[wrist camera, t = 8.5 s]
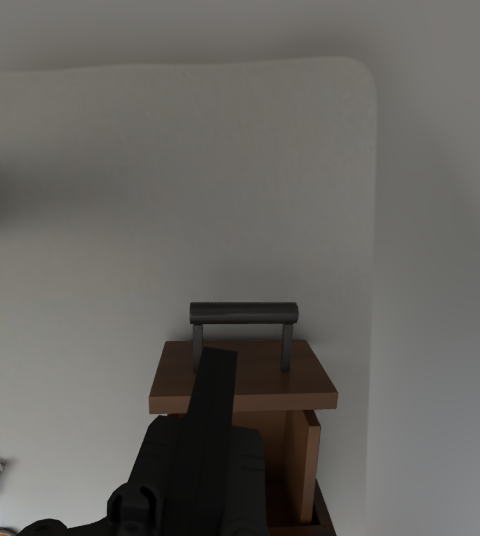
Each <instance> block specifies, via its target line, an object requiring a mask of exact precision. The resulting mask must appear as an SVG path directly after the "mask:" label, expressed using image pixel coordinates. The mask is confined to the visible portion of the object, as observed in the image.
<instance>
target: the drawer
mask: <svg viewBox="0 0 480 536" xmlns="http://www.w3.org/2000/svg"><path fill="white" fill-rule="evenodd" d="M298 316H299V312H298V306H297V303H295V302H191V303H190V324H193V341H166V342H165V345H164V348H163V351H162V355H161V358H160V361H159V365H158V368H157V372H156V375H155V378H154V382H153V385H152V388H151V392H150V395H149V413H150V414H167V416H168V417H174V418H181V419H185V417H186V413H187V410H188V406H189V402H190V398H191V394H192V390H193V386H194V382H195V378H196V374H197V370H198V366H199V363H200V359H201V355H202V351H203V347H204V346H206V347H212V348H218V349H225V350H231V351H237V352H238V357H237V369H236V380H235V392H234V404H233V415H232V426H238V427H244V428H251V429H257V430H258V431H259V433H260V435H261V437H262V440H263V442H264V461H265V471H264V472H265V499H266V521H267V527H268V528H274V527H291V526H308V525H311V520H312V510H313V500H314V490H315V480H316V470H317V460H318V450H319V440H320V430H321V425H320V423H319V421H318V419H317V417H316V414H315V412H314V410H317V409H336V408H337V399H338V392H337V390H336V388H335V387H334V385H333V383H332V382H331V380H330V378H329V377H328V375H327V374H326V372H325V370H324V369H323V367H322V365H321V364H320V362H319V360H318V359H317V357H316V356H315V354H314V352H313V351H312V349H311V347H310V346H309V344H308V342H307V341H306V340H292V335H293V324H295V323H297V321H298ZM203 324H283V330H282V340H268V341H203Z"/></svg>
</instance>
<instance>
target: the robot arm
mask: <svg viewBox="0 0 480 536" xmlns="http://www.w3.org/2000/svg"><path fill="white" fill-rule="evenodd" d="M237 357H238V352H237V351H231V350H225V349H218V348H212V347H206V346H204V347H203V351H202V355H201V359H200V363H199V366H198V370H197V374H196V378H195V382H194V386H193V390H192V394H191V398H190V402H189V406H188V410H187V413H186V417H185V419H181V418H174V417H168V416H162V415H159V416H158V417H157V418H156V419H155V420H154V421H153V422H152V423H151V424H150V425H149V427H148V429H147V432H146V435H145V437H144V440H143V443H142V445H141V448H140V451H139V454H138V456H137V458H136V461H135V464H134V466H133V469H132V472H131V474H130V477H129V480H128V482H127V483H125V484H122V485H121V486H120V487H119V488H117V489H116V490H115V491H114V492H113V493H112V495H111V496H110V498H109V500H108V501H107V516H106V517H105V518H103V519H101V520H99V521H97V522H94V523H91V524H87V525H83V526H78V527H73V528H68V529H67V527H66V526H65V525H64V524H63V523H62V522H61V521H60V520H55V519H50V518H49V519H44V520H39V521H36V522H34V523H32V524H30V525H29V526H27V527H25V528H24V529H23V530H22V531H21V532H20V533H18V534H17V535H16V536H271V534H270V532H269V529H268V527H267V521H266V499H265V472H264V471H265V461H264V442H263V440H262V437H261V435H260V433H259V431H258V430H257V429H251V428H244V427H238V426H232V415H233V404H234V392H235V380H236V369H237Z"/></svg>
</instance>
